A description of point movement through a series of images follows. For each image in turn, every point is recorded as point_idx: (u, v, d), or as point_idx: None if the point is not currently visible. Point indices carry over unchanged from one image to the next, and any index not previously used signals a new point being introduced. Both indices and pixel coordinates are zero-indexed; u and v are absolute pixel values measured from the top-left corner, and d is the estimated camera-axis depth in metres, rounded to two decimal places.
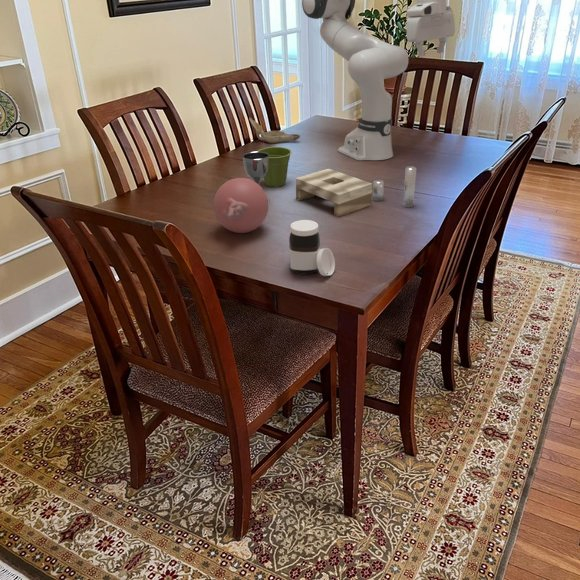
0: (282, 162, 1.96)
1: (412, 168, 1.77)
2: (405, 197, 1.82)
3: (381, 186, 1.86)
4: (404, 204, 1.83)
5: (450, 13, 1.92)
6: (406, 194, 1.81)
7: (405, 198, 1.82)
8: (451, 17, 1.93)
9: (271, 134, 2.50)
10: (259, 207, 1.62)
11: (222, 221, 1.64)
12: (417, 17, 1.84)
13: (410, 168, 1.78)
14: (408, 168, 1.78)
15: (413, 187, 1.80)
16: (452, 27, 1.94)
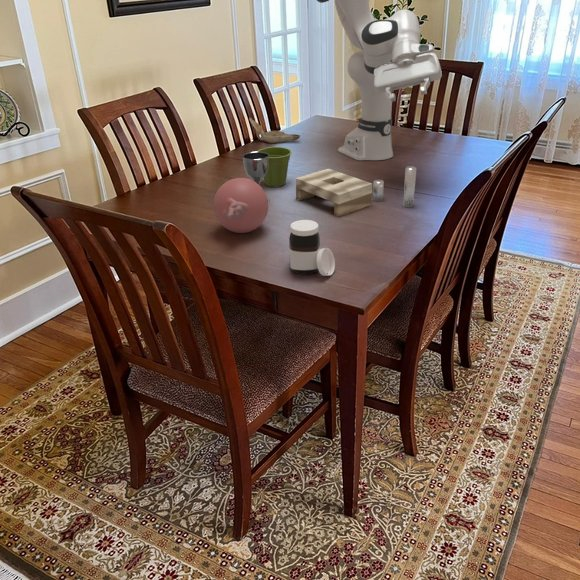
0: (282, 162, 1.96)
1: (412, 168, 1.77)
2: (405, 197, 1.82)
3: (381, 186, 1.86)
4: (404, 204, 1.83)
5: None
6: (406, 194, 1.81)
7: (405, 198, 1.82)
8: None
9: (271, 134, 2.50)
10: (259, 207, 1.62)
11: (222, 221, 1.64)
12: None
13: (410, 168, 1.78)
14: (408, 168, 1.78)
15: (413, 187, 1.80)
16: None
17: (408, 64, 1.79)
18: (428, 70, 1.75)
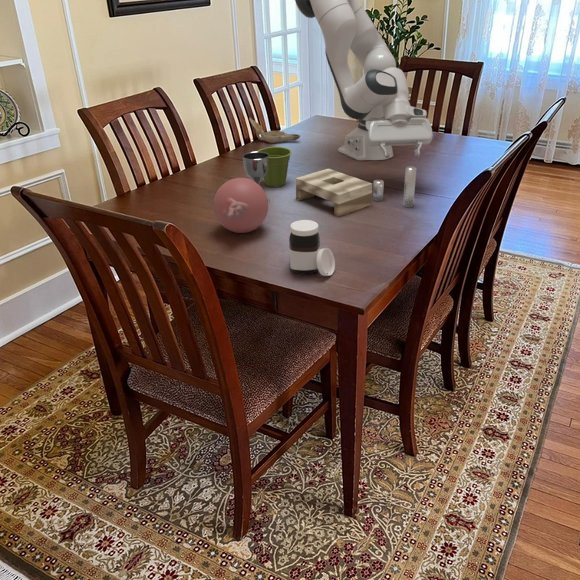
0: (282, 162, 1.96)
1: (412, 168, 1.77)
2: (405, 197, 1.82)
3: (381, 186, 1.86)
4: (404, 204, 1.83)
5: None
6: (406, 194, 1.81)
7: (405, 198, 1.82)
8: None
9: (271, 134, 2.50)
10: (259, 207, 1.62)
11: (222, 221, 1.64)
12: None
13: (410, 168, 1.78)
14: (408, 168, 1.78)
15: (413, 187, 1.80)
16: None
17: (402, 124, 1.86)
18: (422, 135, 1.84)
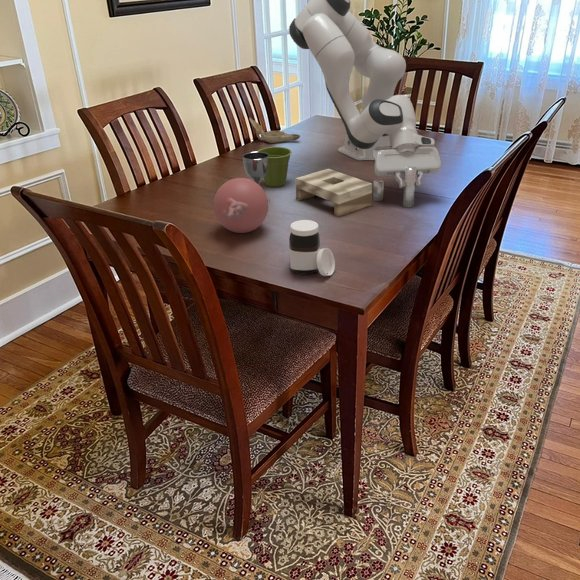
0: (282, 162, 1.96)
1: (412, 168, 1.77)
2: (405, 197, 1.82)
3: (381, 186, 1.86)
4: (404, 204, 1.83)
5: None
6: (406, 194, 1.81)
7: (405, 198, 1.82)
8: None
9: (271, 134, 2.50)
10: (259, 207, 1.62)
11: (222, 221, 1.64)
12: None
13: (410, 168, 1.78)
14: (408, 168, 1.78)
15: (413, 187, 1.80)
16: None
17: (409, 153, 1.82)
18: (430, 164, 1.80)
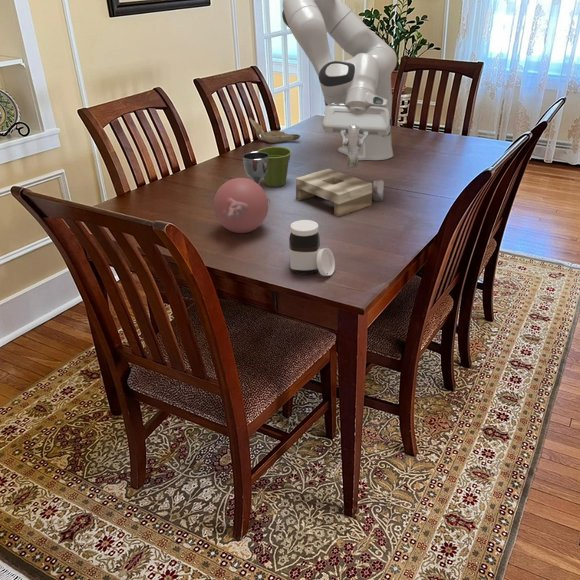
0: (282, 162, 1.96)
1: (354, 126, 1.73)
2: (348, 156, 1.78)
3: (381, 186, 1.86)
4: (347, 164, 1.79)
5: None
6: (348, 153, 1.77)
7: (348, 157, 1.78)
8: None
9: (271, 134, 2.50)
10: (259, 207, 1.62)
11: (222, 221, 1.64)
12: None
13: (352, 126, 1.74)
14: (350, 126, 1.74)
15: (355, 146, 1.76)
16: None
17: (360, 112, 1.77)
18: (377, 125, 1.75)
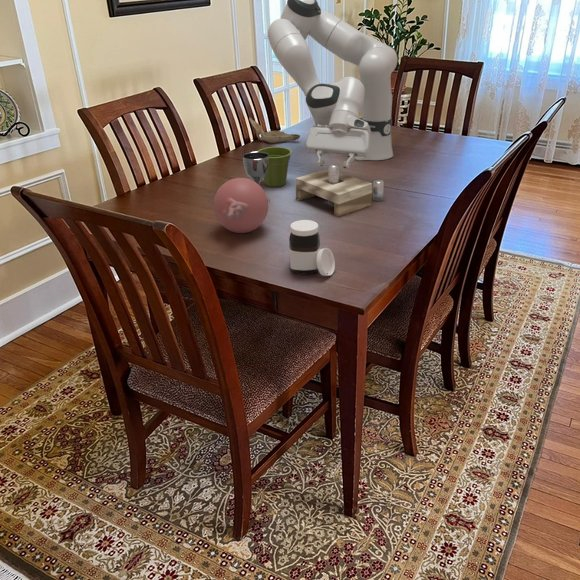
0: (282, 162, 1.96)
1: (333, 166, 1.81)
2: None
3: (381, 186, 1.86)
4: (328, 200, 1.88)
5: None
6: None
7: None
8: None
9: (271, 134, 2.50)
10: (259, 207, 1.62)
11: (222, 221, 1.64)
12: None
13: (332, 165, 1.82)
14: (330, 165, 1.82)
15: None
16: None
17: (341, 134, 1.82)
18: (357, 147, 1.79)
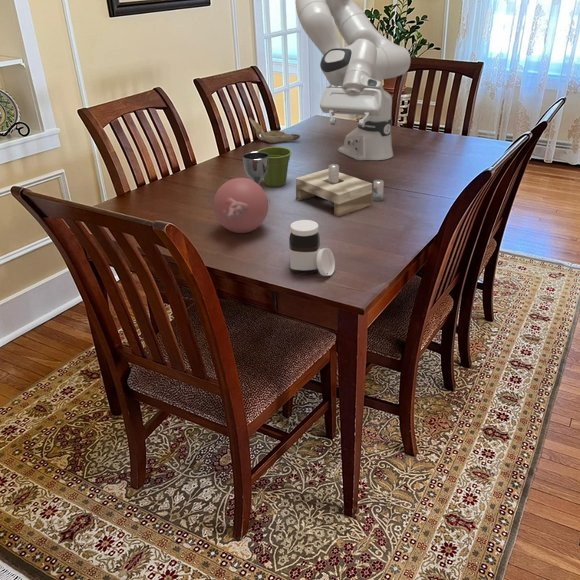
0: (282, 162, 1.96)
1: (333, 166, 1.81)
2: None
3: (381, 186, 1.86)
4: (328, 200, 1.88)
5: None
6: None
7: None
8: None
9: (271, 134, 2.50)
10: (259, 207, 1.62)
11: (222, 221, 1.64)
12: None
13: (332, 165, 1.82)
14: (330, 165, 1.82)
15: None
16: None
17: (355, 94, 1.88)
18: (370, 106, 1.85)
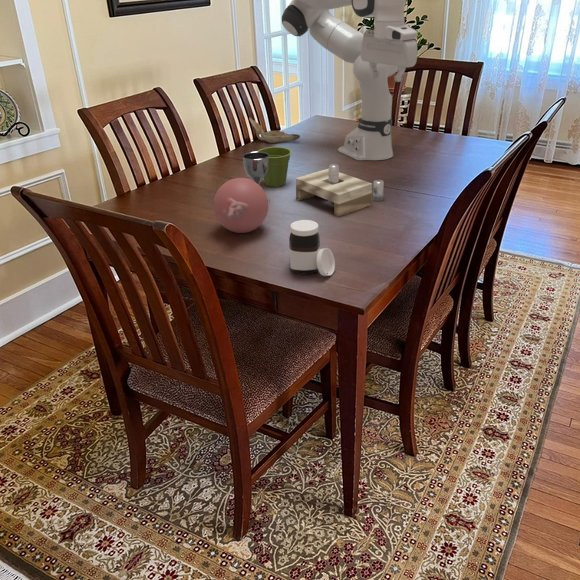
0: (282, 162, 1.96)
1: (333, 166, 1.81)
2: None
3: (381, 186, 1.86)
4: (328, 200, 1.88)
5: None
6: None
7: None
8: None
9: (271, 134, 2.50)
10: (259, 207, 1.62)
11: (222, 221, 1.64)
12: (413, 40, 1.73)
13: (332, 165, 1.82)
14: (330, 165, 1.82)
15: None
16: None
17: (386, 45, 1.78)
18: (400, 61, 1.76)
